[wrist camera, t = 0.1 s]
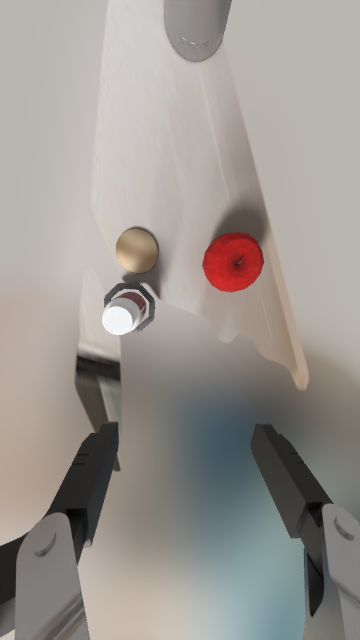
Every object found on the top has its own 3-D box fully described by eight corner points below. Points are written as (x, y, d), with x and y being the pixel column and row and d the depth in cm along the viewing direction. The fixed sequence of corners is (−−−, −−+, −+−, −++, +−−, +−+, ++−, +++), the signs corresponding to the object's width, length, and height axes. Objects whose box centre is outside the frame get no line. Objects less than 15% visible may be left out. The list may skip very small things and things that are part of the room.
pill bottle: (113, 294, 36) (90, 304, 25) (142, 288, 36) (131, 296, 25) (122, 322, 38) (103, 342, 27) (149, 316, 38) (142, 335, 27)
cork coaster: (116, 227, 32) (115, 226, 32) (158, 231, 33) (158, 231, 32) (117, 271, 35) (116, 271, 34) (156, 274, 35) (156, 274, 35)
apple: (188, 272, 36) (196, 273, 25) (214, 229, 34) (234, 210, 23) (226, 296, 37) (248, 306, 27) (252, 257, 35) (287, 251, 25)
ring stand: (107, 281, 35) (103, 281, 33) (156, 284, 36) (155, 285, 33) (109, 326, 38) (105, 330, 35) (154, 328, 38) (153, 332, 36)
